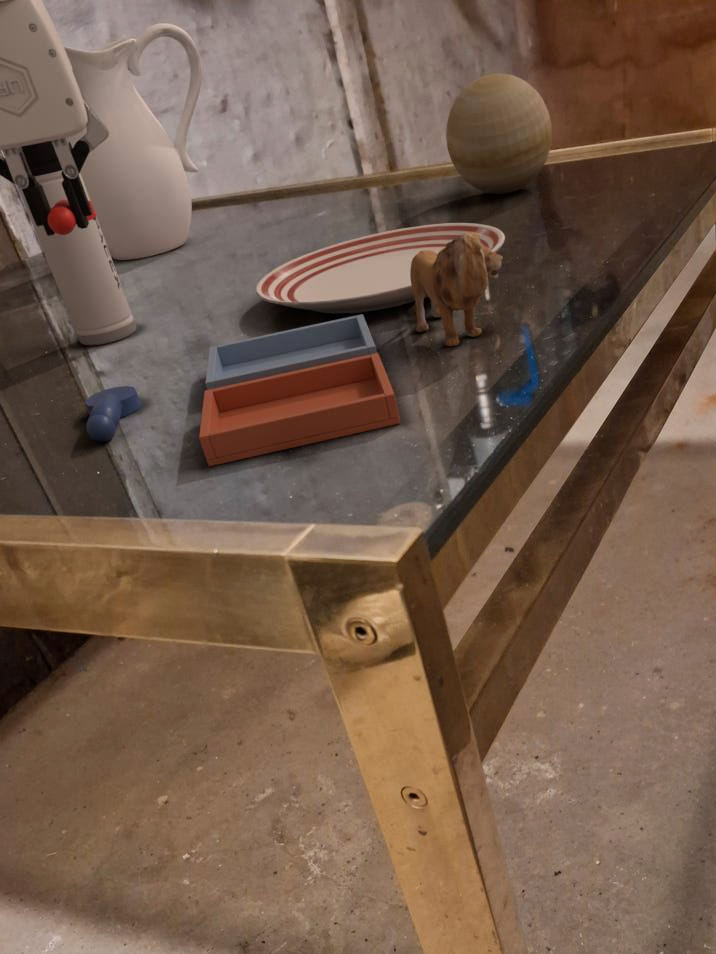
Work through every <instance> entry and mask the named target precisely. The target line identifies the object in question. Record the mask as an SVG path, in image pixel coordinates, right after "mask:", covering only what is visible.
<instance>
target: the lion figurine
mask: <svg viewBox="0 0 716 954" xmlns="http://www.w3.org/2000/svg"><path fill="white" fill-rule="evenodd" d="M503 259H504V257H503V256H502V255H501V254H499V253H494V252H492V251H490V250H489V248H488V247H486V246H484V245H483V244H482V243H481V241H480V235H479V234H475V233H468V234H462V235H460V236H459V237H457V238H455V239H454V240H452V241H451V242H449V243H447V245H446V248H444V249H442V250H441V251H440V252H439V253H438V254H437V253H436V252H434V251H430V250H422V251H420V252H419V253H418V254H416V255H415V256H414V258H413V259H412V262H411V269H410V278H411V285H412V290H413V293H414V298H415V301H414V302H415V303H414V304H413V305H412V306H411V307H410V308H409V309H407V311H406V312H407V314H409V315H414V314H416V320H417V321H416V322H417V323H416V328H415V329H416V332H417V333H422V332H425V331H428V330H429V324H428V323H427V321H426V316H425V315H426V314H425V311H426V310H425V307H424V300H425V298H424V295H425V291H426V293H427V295H428V297H427V298H429V299H430V310H431V314H432V317H434V318H440V319H441V324H442V326H443V331H444V336H445V345H446V347H455V346H458V345H459V344H460V340H459V335H458V332H457V331H456V329H455V325H454V319H453V318H454V317H453V313H454V311H456V312H458V311H463V314H464V325H463V326H464V332H465V334H466V335H467V336H469V337H472V338H475V337H479V336H480V335H481V334H482V328H480V327H476V326H475V312H476V311H475V310H476V306H477V305H478V304H479V302H480V297H481V296H482V294H484V293H485V292H486V290H488V286H489V279H492V280H498V278H499V270H500V269H501V267H502V261H503Z"/></svg>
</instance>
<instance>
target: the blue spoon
mask: <svg viewBox="0 0 716 954" xmlns="http://www.w3.org/2000/svg"><path fill="white" fill-rule="evenodd" d="M84 405H85V408H86V410H87V412H88V415H89V417H88V418H87V421H86V428H85V429H86V432H87V434H88V435H89V437H90V438H91V439H93V440H94V441H96V442H100V443H103V442H104V443H105V442H108V441H110V440H112V439H113V437H114V436H115V435H116V432H117V430H118V429H117V428H118V426H119V422H120V419H121V418H123V417H126V416H129V415H131V414H133V413H135V412H136V411H138V410H139V409H141V406H142V402H141V400H140V397H139V395H138V392H137V389H136V387H134V386H130V385H125V386H124V385H123V386H116V387H115V386H114V387H111V388H108V389H104V390H101V391H98V392H96V393H94V394H92V395H90V396H89V397H87V398H86V399H85V401H84Z"/></svg>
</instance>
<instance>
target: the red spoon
mask: <svg viewBox="0 0 716 954" xmlns="http://www.w3.org/2000/svg"><path fill="white" fill-rule="evenodd" d="M88 202H89V204H90V207H91V210H92V215H90V216H87V218H88V221H89V220H92V219H94V218H95V217H96V214H95V211H94V208H93V206H92V203H91V201H89V200H88ZM48 224H49V226H50V228H51V229H52V230H53V231H54V232H55V233H57V234H60V235H67V234H69V233H71V232H72V231H73V229H74V227H75V225H76V220H75V216H74V214H73V213H72V210H71V208H70V205H69V202H68V200H60V201H58V202H57V203H56V204H55V205H54V207H52V208H51V211H50V212H49V214H48Z"/></svg>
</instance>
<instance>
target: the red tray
mask: <svg viewBox="0 0 716 954" xmlns="http://www.w3.org/2000/svg"><path fill="white" fill-rule="evenodd" d="M398 409H399V408H398V404H397V400H396V395H395V392H394V389H393V387H392V384H391V382H390V380H389V377H388V375H387V372H386V370H385V367H384V364H383V361H382V359H381V357H380V354H379V353H378V352H377V353H375V354H371V355H366V356H361V357H357V358H352V359H347V360H343V361H338V362H334V363H329V364H325V365H320V366H315V367H311V368H306V369H302V370H297V371H292V372H288V373H283V374H279V375H274V376H270V377H265V378H260V379H256V380H251V381H247V382H242V383H238V384H233V385H228V386H224V387H219V388H215V389H210V390H207V389H206V390H204V392H203V400H202V409H201V410H202V411H201V418H200V425H199V433H198V439H199V442H200V445H201V448H202V451H203V454H204V457H205V459H206V463H207V465H208V467H213V466H217V465H222V464H226V463H230V462H235V461H240V460H244V459H248V458H252V457H257V456H261V455H266V454H271V453H275V452H279V451H283V450H288V449H293V448H297V447H301V446H306V445H310V444H315V443H319V442H323V441H328V440H332V439H333V440H334V439H338V438H341V437H346V436H350V435H355V434H359V433H364V432H368V431H373V430H377V429H381V428H385V427H391V426H395V425H399V424H401V418H400V413H399V410H398Z"/></svg>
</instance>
